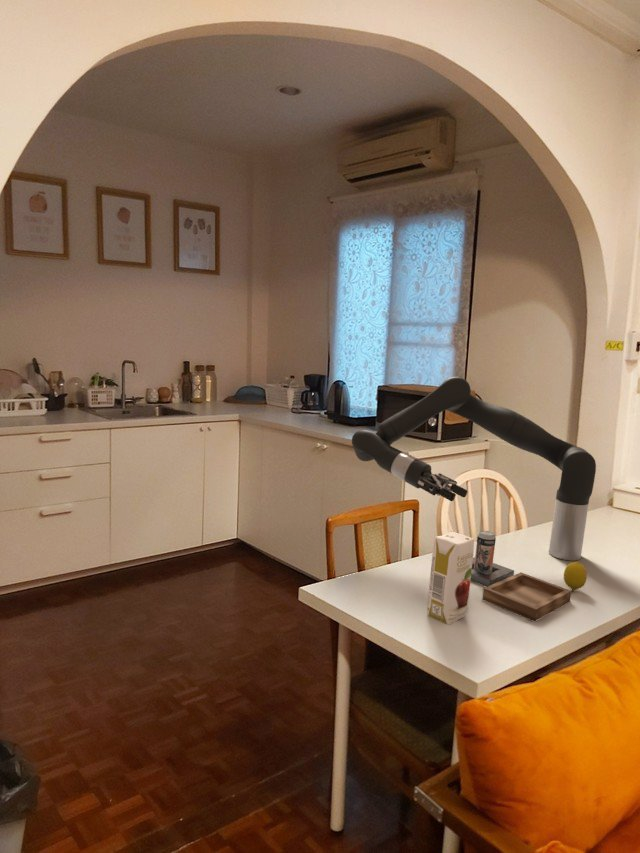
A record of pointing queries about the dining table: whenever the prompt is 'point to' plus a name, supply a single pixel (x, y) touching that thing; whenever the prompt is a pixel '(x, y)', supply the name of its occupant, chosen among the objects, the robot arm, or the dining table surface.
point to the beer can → (484, 552)
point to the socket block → (491, 575)
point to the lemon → (575, 575)
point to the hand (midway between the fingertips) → (460, 496)
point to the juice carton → (450, 577)
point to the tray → (527, 596)
